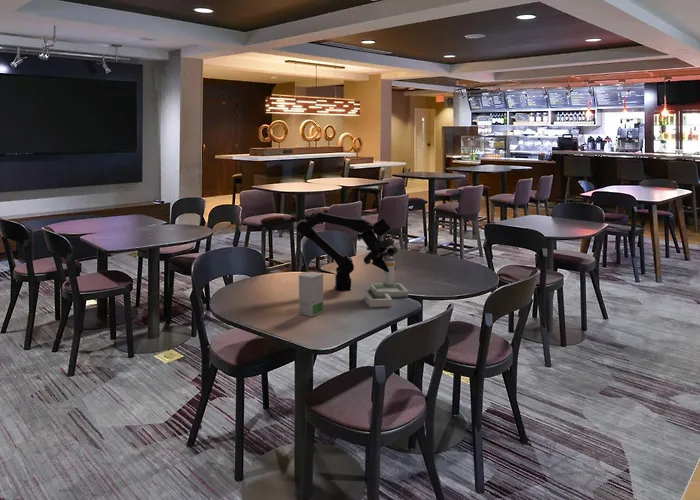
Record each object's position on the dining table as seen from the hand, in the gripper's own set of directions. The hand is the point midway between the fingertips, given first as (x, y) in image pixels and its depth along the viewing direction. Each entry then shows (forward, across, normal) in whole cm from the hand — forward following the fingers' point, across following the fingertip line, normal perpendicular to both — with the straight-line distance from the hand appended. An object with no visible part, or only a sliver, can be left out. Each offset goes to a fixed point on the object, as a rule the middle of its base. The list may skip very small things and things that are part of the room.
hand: (391, 270), depth 253 cm
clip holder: (+11, -16, +4) cm, 19 cm away
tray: (+6, 0, +8) cm, 10 cm away
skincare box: (+3, -44, +12) cm, 46 cm away
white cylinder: (+4, 0, +6) cm, 7 cm away
